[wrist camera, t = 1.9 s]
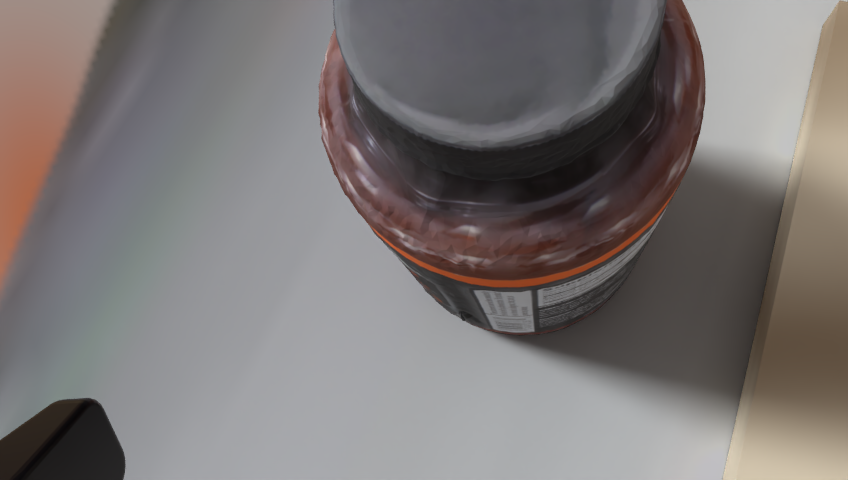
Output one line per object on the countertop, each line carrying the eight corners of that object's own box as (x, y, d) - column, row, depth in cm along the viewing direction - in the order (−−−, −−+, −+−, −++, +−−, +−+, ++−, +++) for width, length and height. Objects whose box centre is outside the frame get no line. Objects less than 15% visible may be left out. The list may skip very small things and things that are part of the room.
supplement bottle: (372, 171, 21) (186, -110, 10) (577, 79, 21) (612, -311, 10) (460, 379, 19) (350, 311, 9) (684, 282, 19) (867, 82, 8)
